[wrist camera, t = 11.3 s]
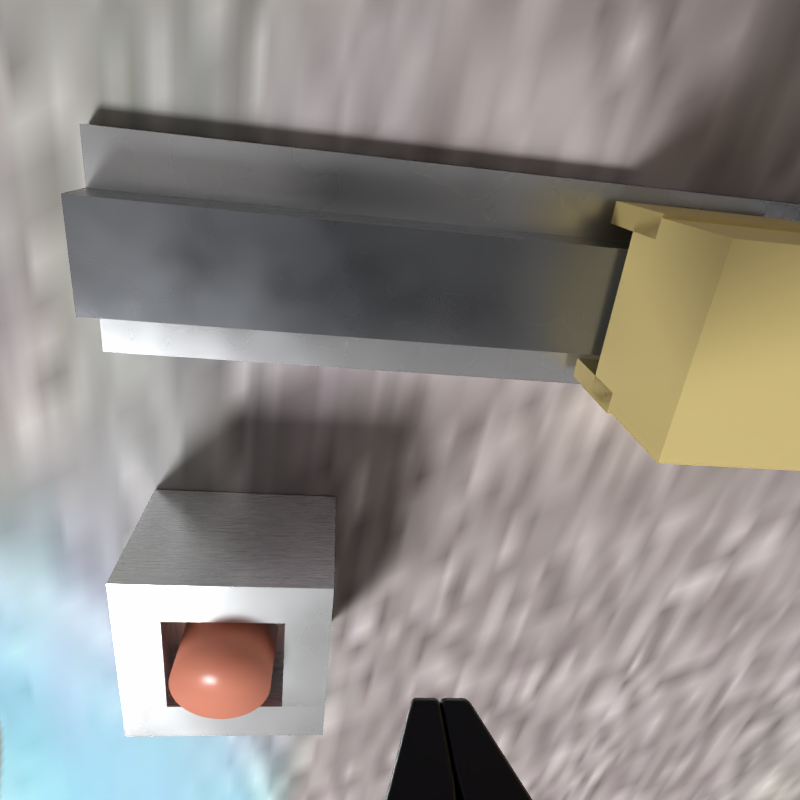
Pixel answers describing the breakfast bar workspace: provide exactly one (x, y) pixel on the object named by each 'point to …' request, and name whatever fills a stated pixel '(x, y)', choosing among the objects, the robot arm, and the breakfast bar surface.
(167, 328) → the rail
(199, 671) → the button
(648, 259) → the carriage
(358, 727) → the breakfast bar surface
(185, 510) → the cabinet
